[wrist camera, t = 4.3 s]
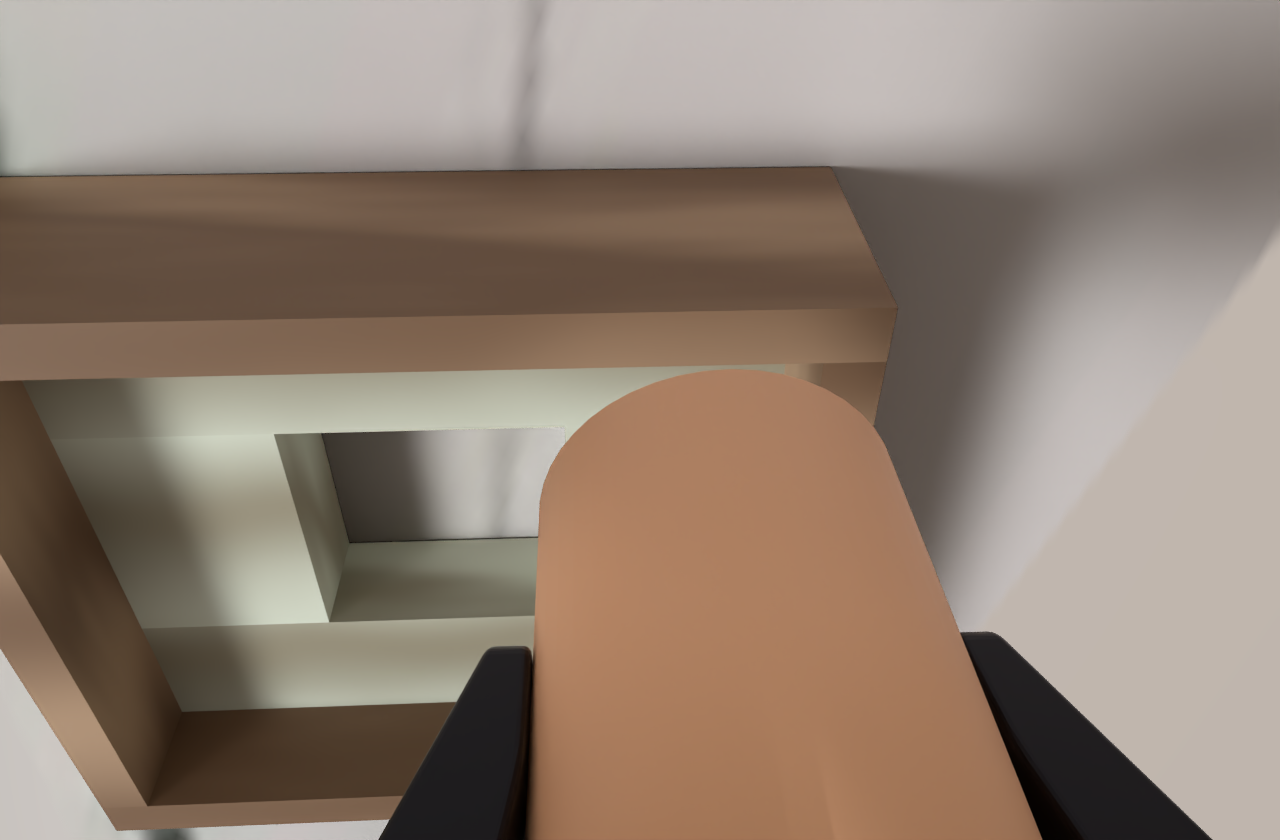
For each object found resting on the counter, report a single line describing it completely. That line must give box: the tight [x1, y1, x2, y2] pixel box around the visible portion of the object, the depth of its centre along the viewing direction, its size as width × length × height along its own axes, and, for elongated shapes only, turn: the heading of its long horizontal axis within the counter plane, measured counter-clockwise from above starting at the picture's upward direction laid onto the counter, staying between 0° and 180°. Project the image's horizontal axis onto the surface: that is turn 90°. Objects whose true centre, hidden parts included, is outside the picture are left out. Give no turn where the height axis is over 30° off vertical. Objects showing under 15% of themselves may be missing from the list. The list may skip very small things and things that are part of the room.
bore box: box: [0, 167, 898, 831], centre depth 21 cm, size 14×16×5 cm
